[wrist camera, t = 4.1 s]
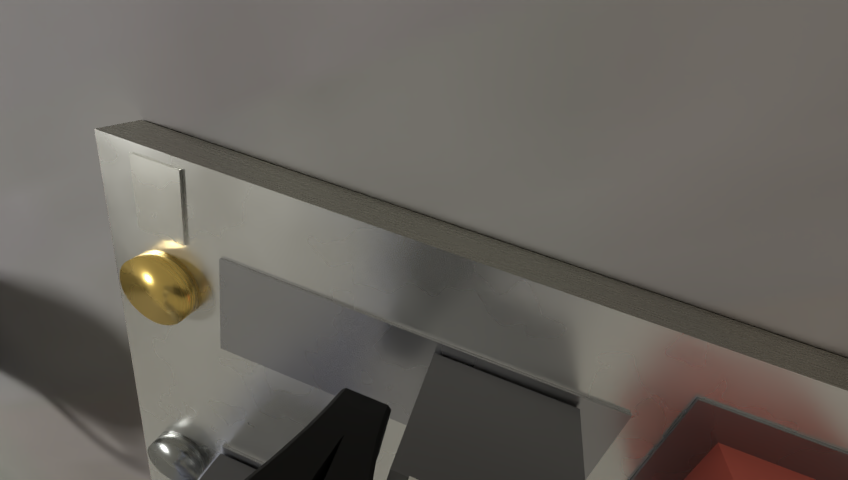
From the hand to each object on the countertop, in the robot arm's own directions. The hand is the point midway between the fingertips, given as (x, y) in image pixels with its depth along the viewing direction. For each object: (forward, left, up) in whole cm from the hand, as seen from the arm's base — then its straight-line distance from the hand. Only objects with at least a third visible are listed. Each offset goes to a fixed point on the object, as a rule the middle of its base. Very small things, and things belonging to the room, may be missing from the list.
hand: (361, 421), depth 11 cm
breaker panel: (-5, -2, -3) cm, 6 cm away
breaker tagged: (0, -3, -2) cm, 4 cm away
